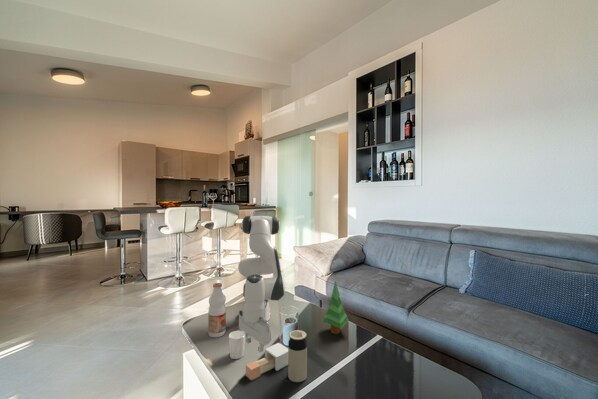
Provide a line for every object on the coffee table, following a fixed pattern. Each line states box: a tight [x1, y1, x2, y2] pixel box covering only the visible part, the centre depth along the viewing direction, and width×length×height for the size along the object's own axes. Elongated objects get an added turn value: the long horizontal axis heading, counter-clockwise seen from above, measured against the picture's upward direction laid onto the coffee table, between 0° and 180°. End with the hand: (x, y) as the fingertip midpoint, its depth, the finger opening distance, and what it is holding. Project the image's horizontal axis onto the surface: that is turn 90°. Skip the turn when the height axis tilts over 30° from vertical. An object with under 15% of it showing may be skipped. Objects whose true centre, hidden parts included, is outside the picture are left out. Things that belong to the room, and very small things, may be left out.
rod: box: [255, 355, 275, 375], centre depth 119 cm, size 4×18×4 cm, turn 130°
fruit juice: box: [207, 282, 227, 338], centre depth 147 cm, size 9×9×28 cm
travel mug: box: [287, 329, 308, 383], centre depth 111 cm, size 8×8×18 cm
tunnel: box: [264, 342, 288, 371], centre depth 120 cm, size 9×8×6 cm
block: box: [245, 360, 261, 381], centre depth 111 cm, size 4×4×4 cm
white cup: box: [228, 330, 246, 360], centre depth 126 cm, size 8×8×10 cm
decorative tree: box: [321, 279, 350, 335], centre depth 149 cm, size 14×16×30 cm
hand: (254, 346), depth 111 cm, fingers open, 8 cm apart
